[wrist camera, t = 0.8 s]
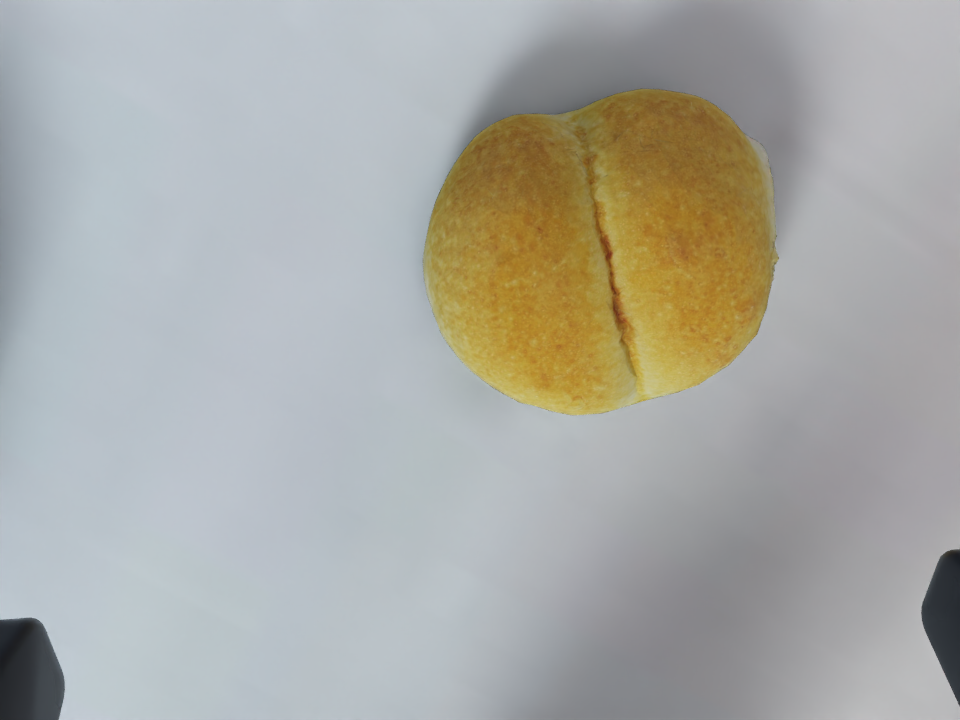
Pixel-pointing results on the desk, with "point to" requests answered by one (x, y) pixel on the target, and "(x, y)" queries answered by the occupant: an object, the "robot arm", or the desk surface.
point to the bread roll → (603, 251)
